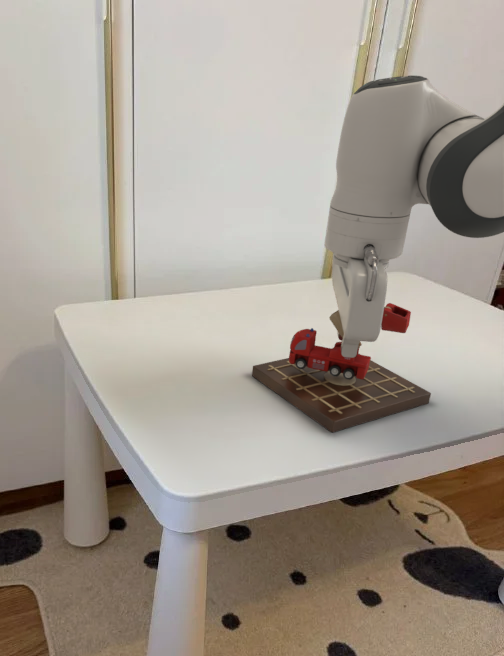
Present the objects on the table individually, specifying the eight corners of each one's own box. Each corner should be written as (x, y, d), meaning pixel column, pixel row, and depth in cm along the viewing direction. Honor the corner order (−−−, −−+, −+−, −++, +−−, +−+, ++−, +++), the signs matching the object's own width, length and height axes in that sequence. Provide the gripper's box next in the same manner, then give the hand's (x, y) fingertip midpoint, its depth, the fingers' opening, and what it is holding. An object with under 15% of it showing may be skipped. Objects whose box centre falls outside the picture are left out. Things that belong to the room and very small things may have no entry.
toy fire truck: (292, 356, 84) (301, 286, 79) (397, 379, 79) (413, 306, 75) (284, 365, 81) (293, 293, 77) (392, 390, 77) (409, 315, 72)
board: (428, 403, 79) (431, 391, 78) (332, 433, 72) (334, 420, 71) (342, 354, 91) (344, 344, 90) (251, 375, 84) (252, 364, 83)
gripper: (409, 262, 63) (383, 386, 69) (381, 217, 80) (362, 319, 87) (345, 257, 63) (325, 381, 70) (331, 214, 81) (316, 315, 88)
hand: (345, 346), depth 79 cm, fingers closed on toy fire truck, 4 cm apart
